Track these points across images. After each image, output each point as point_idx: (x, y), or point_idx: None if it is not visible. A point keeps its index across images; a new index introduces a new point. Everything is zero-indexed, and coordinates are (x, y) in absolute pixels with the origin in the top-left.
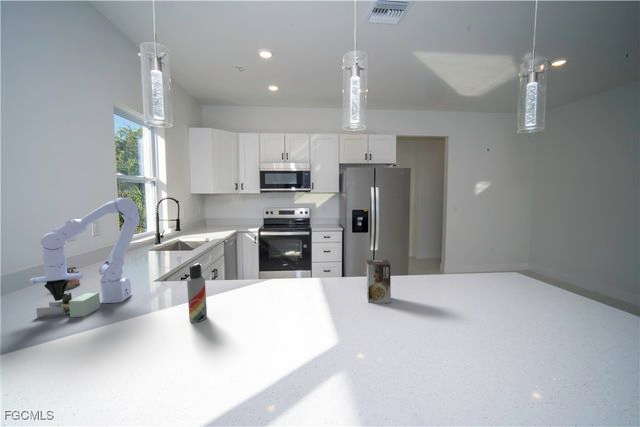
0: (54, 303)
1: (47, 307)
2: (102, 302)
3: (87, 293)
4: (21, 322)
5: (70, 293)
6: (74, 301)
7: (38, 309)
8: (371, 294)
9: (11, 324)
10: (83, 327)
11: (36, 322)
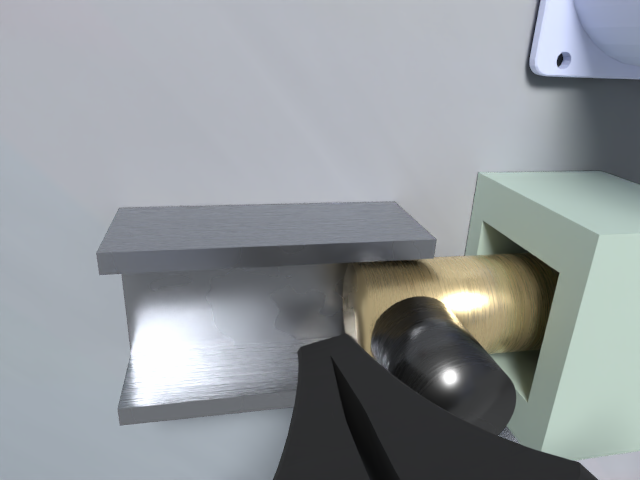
0: (182, 266)
1: (236, 398)
2: (598, 77)
3: (630, 243)
4: (75, 427)
5: (507, 391)
6: (590, 455)
7: (146, 412)
8: None
9: (17, 458)
10: (621, 470)
11: (228, 425)
